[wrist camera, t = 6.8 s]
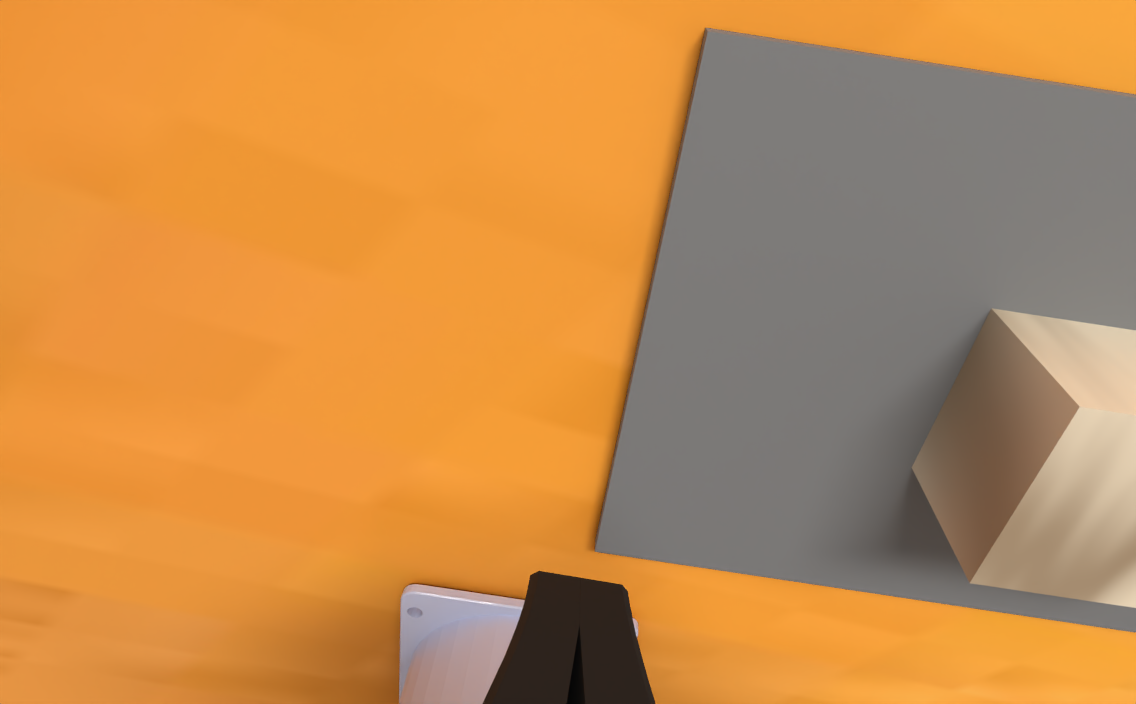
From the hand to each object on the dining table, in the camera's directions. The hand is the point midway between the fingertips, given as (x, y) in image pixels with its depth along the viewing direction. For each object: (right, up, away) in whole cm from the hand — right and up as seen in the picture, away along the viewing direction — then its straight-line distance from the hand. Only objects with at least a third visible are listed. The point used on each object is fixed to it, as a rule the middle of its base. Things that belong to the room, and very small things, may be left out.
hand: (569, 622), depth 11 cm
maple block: (+10, +2, +6) cm, 12 cm away
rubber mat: (+11, +3, +8) cm, 14 cm away
